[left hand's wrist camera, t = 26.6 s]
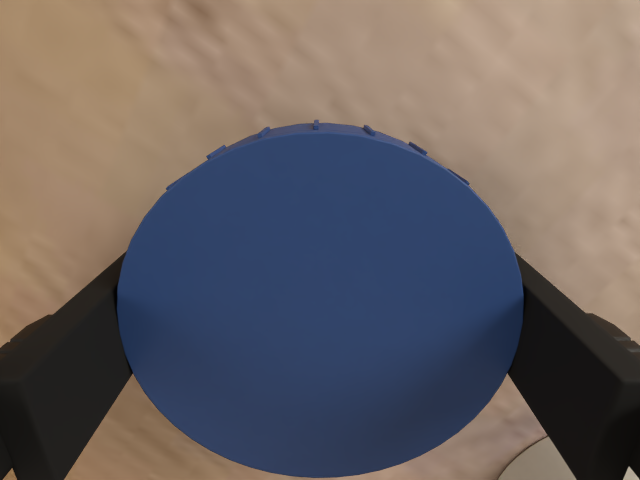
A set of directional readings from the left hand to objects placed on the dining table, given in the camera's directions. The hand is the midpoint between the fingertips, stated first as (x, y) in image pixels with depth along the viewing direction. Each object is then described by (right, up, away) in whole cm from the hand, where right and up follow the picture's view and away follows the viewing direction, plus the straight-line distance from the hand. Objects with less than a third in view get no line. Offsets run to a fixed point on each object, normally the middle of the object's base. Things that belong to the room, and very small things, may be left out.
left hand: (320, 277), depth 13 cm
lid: (0, -1, -3) cm, 3 cm away
